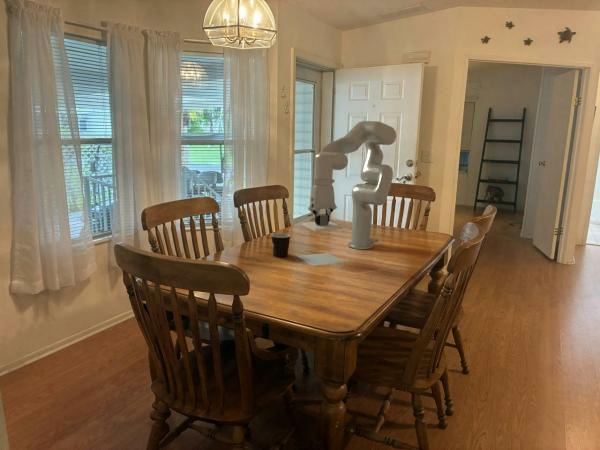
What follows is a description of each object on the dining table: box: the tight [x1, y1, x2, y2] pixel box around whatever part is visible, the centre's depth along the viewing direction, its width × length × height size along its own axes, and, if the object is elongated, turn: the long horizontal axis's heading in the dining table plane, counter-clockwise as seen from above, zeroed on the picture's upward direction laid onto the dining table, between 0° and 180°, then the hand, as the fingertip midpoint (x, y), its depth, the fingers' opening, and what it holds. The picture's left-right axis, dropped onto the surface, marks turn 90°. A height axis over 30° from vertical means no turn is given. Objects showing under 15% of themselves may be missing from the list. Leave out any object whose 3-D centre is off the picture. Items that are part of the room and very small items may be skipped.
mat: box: [297, 252, 345, 267], centre depth 199 cm, size 16×16×1 cm
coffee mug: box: [270, 232, 291, 259], centre depth 203 cm, size 12×9×10 cm
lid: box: [301, 213, 343, 232], centre depth 196 cm, size 13×13×6 cm
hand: (322, 223), depth 196 cm, fingers closed on lid, 3 cm apart
